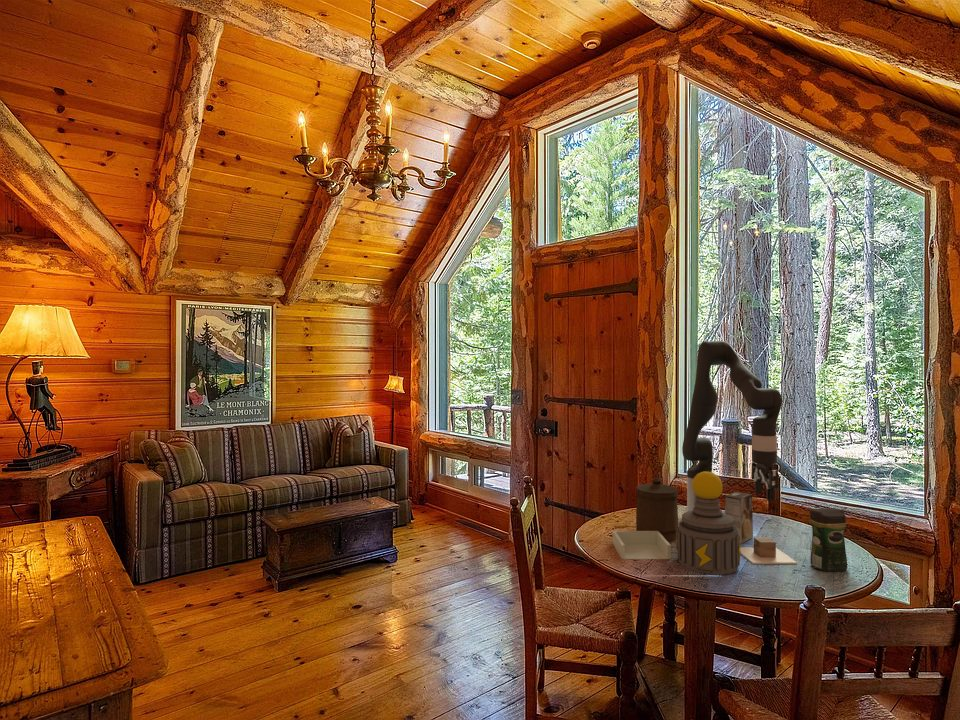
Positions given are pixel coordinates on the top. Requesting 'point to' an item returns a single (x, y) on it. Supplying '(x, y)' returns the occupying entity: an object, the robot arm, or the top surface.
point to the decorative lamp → (708, 531)
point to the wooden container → (657, 509)
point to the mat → (755, 559)
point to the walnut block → (764, 547)
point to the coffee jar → (828, 539)
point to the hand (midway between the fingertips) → (764, 497)
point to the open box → (641, 545)
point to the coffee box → (741, 513)
